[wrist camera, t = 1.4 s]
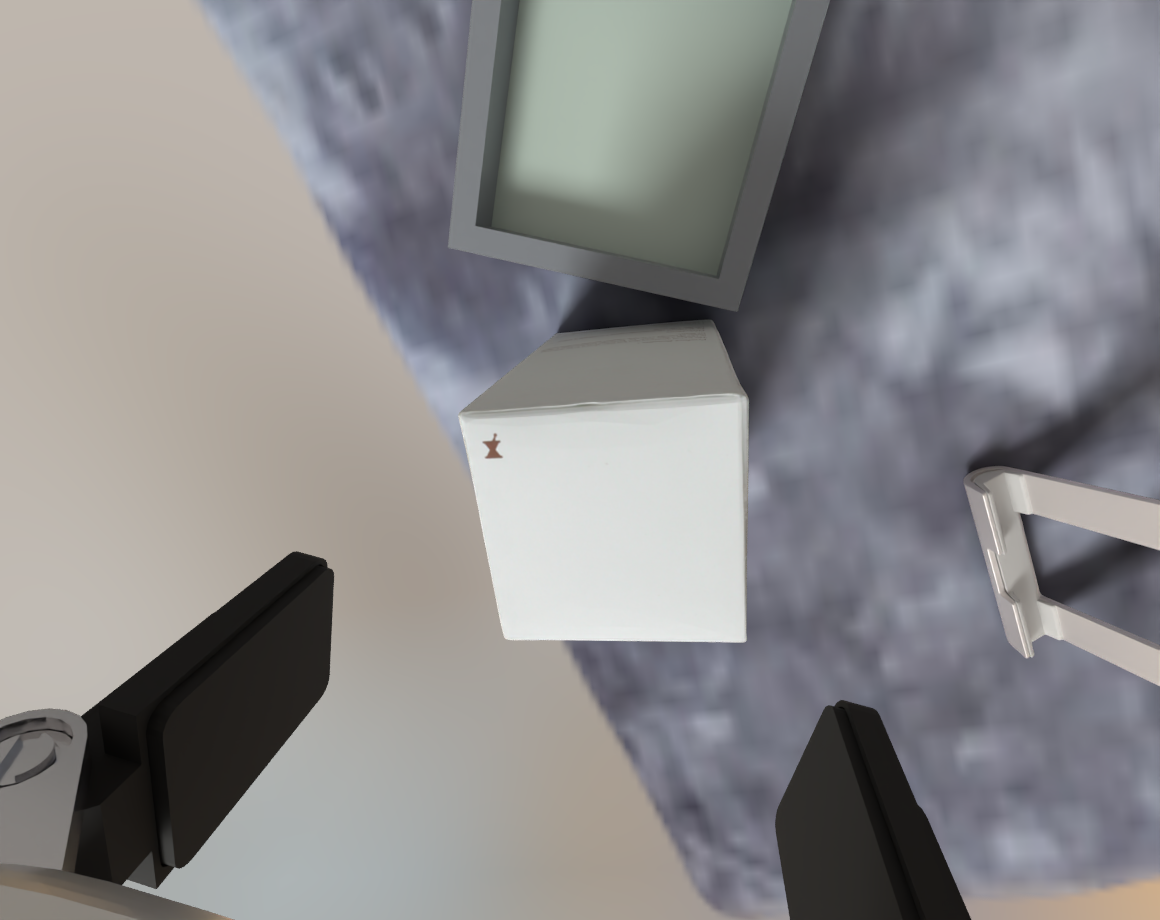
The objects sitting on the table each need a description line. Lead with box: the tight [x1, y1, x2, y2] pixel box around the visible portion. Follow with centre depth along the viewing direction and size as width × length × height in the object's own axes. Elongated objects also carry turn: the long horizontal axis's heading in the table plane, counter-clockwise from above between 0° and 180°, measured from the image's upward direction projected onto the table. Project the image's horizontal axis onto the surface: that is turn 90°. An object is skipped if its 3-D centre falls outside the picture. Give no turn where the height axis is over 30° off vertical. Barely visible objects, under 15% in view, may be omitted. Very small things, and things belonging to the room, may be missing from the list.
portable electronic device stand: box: [963, 466, 1160, 686], centre depth 22 cm, size 9×8×8 cm
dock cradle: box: [448, 0, 830, 312], centre depth 21 cm, size 12×12×3 cm
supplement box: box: [458, 320, 749, 643], centre depth 21 cm, size 7×7×13 cm
